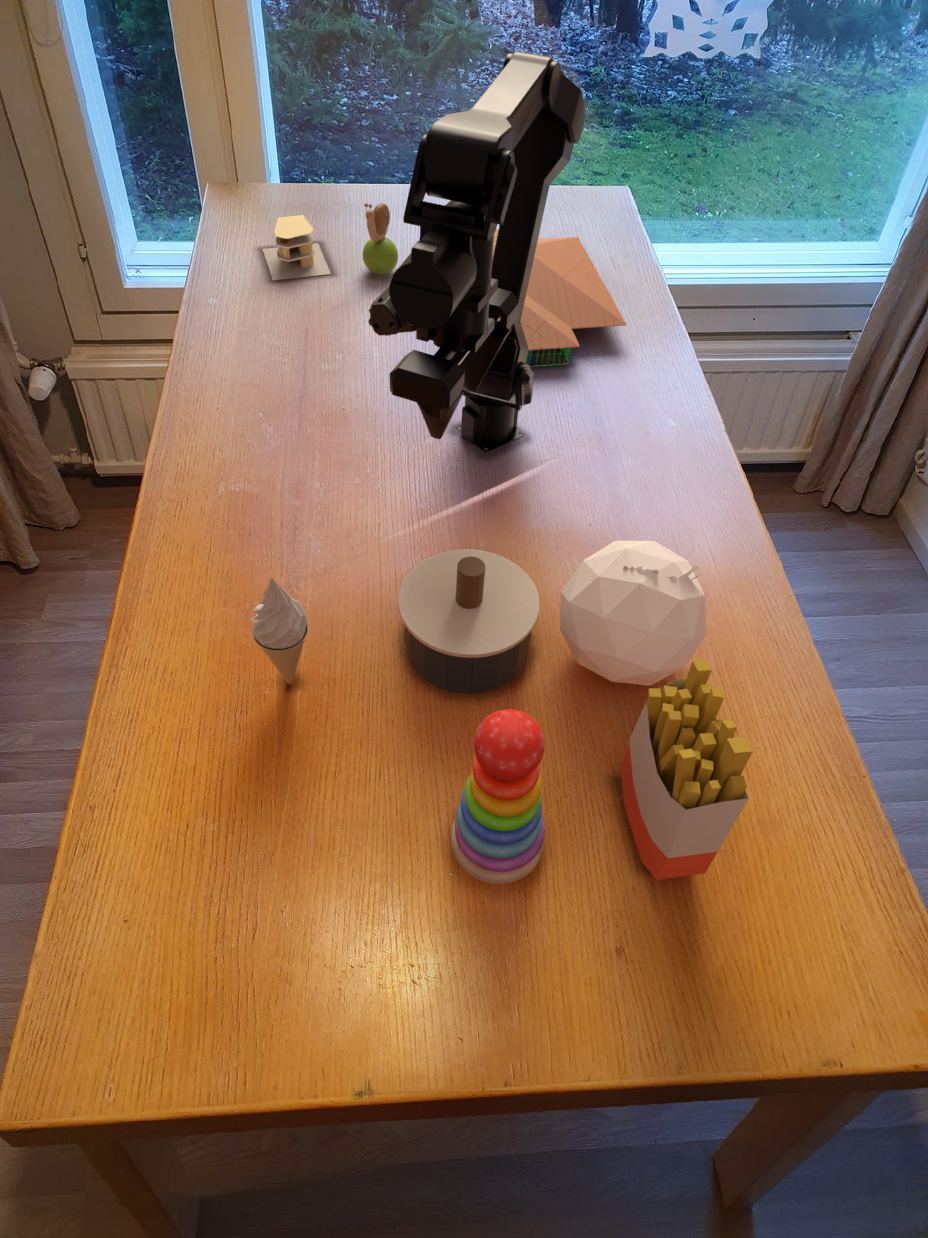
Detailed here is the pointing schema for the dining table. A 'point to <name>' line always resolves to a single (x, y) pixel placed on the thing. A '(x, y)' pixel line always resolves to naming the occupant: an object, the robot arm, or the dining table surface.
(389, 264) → the snail figurine
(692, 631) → the geodesic sphere
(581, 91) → the robot arm
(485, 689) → the container
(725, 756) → the french fries container
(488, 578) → the round peg stand
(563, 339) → the house
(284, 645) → the ice cream cone
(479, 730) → the stacking toy
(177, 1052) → the dining table surface
